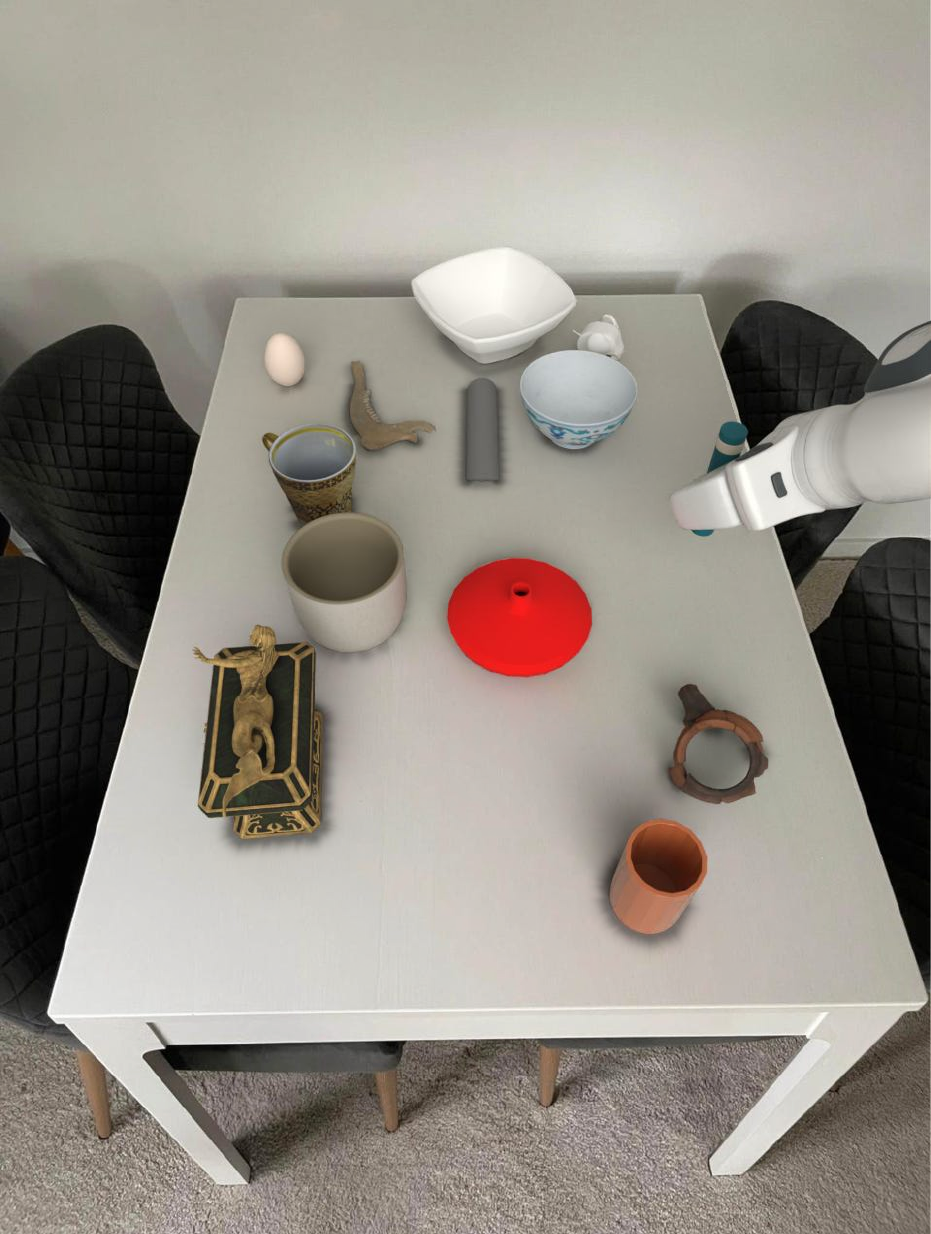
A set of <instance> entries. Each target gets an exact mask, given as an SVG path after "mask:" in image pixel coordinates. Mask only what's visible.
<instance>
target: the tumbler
mask: <svg viewBox="0 0 931 1234" xmlns="http://www.w3.org/2000/svg"><path fill="white" fill-rule="evenodd" d="M707 873H708V856H707V853H706V850H705V847H704V845H703V843H702V841H701V840H700V838H699V837H697V835H696V834H695V833H694V831H692V829H691V828H688V827H687V826H685V825H683V824H682V823H680V822H678V821H676V820H670V819H664V818H658V819H652V820H647V821H644V822H643V823H642V824H640V825H639V826H637V827H636V828H635V829H634V830H633V831H632V833H631V834H630V836H629V838H628V840H627V842H626V844H625V847H624V849H623V851H622V853H621V856H620V859H619V861H618V863H617V866H616V868H615V871H614V873H613V876H612V879H611V881H610V886H609V901H610V905H611V908H612V910H613V912H614V914H615V915H616V917H617V918H618V919H619V921H620V922H621V923H622V924H624V926H626V927H627V928H629V929H630V930H632V931H633V932H637V933H641V934H645V935H655V934H659V933H663V932H665V931H667V930H668V929H670V928H672V926H674V924H675V923H677V921H678V920H679V918H680V917H681V915H682V914H683V913H684V912H685V909H686V908H687V906H689V903H690V902H691V901H692V899H693V898H694V896H695V895H696V893H697V892H698V890H699V889H700V888H701V886H702V884H703V881H704V879H705V877H706V876H707Z"/></svg>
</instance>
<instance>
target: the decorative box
mask: <svg viewBox="0 0 931 1234" xmlns="http://www.w3.org/2000/svg"><path fill="white" fill-rule="evenodd" d="M276 636H277V635H276V632H275V630H273V629H272V628H271V627H270V626H264V625H261V624H258V623H257V624H254V627H253V629H252V632H251V634H250V635H249V636H248V638H249V643H250V644H251V645H243V646H232V647H231V646H230V647H222V648H221V649H220V650H219V651H218V652H217V653H215V654H214V656H213V658H208V657H206V655H204V653H203V652H202V651H201V649H200V648H198V647H196V646H194V647H193V649H192V651H193V655H194V656H195V657H193V659H195V660H200V662H201V663H204V664H207V665H208V664H209V665H212V673H211V683H210V690H209V691H210V692H209V700H208V708H207V718H206V722H204V729H203V733H205V736H204V744H203V752H202V753H203V754H202V762H201V772H200V779H199V780H200V781H199V790H198V796H197V797H198V798H197V808H198V809H199V811H200V812H201V813H202V814H204V815H205V816H206V817H207V818H208V819H217V818H218V819H219V818H223V819H225V818H229V817H231V818H232V817H233V826H232V827H233V828H232V830H233V832H234V833H235V834H236V835H237V836H238V837H239V838H240V839H242V840H249V839H260V838H270V837H271V838H272V837H282V836H294V835H304V834H305V835H306V834H307V835H308V834H312V833H314V832H315V830H317V828H318V827H319V826H320V825H321V822H322V821H321V820H322V770H323V769H322V767H323V766H322V765H323V763H322V762H323V714H322V713H321V712H320V711H319V710H318V709H316V703H315V702H316V671H317V670H316V669H317V668H316V667H317V665H316V664H317V661H316V660H317V653H316V648H315V647H314V646H313V645H312V644H310V643H309V642H307V641H298V642H296V641H295V642H285V643H277V637H276ZM196 656H197V657H196Z"/></svg>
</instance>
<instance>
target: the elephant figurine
mask: <svg viewBox="0 0 931 1234" xmlns="http://www.w3.org/2000/svg"><path fill="white" fill-rule="evenodd" d="M572 332H574V333H575V334H576V335H577V336H578V338H577V341H576V350H583V351H591V352H595V353H599V354H603V355H605V356H608V355H609V356H610V358H612V359H614V360H616V361H618V360H620V359H622V356H623V353H624V352H626V349H625V346H624V342H623V338H622V333H621V330H620V325H619V323H618V322H617V320H616V319H615V317H614V316H612V315H611V314H604V315H602V316H601V321H597V320H596V321H592V322H590V323H588V324H587V325H586V326H585V327H584V328H583V330H582V331H581V332H577V331H575V330H574V329H572Z"/></svg>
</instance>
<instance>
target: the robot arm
mask: <svg viewBox="0 0 931 1234" xmlns="http://www.w3.org/2000/svg"><path fill="white" fill-rule="evenodd" d="M863 393H864V395H863V397H861V398H860V399H859V400H857V401H856V402H853V403H852V404H835V405H830V406H827V407H822V408H818V409H814V410H810V411H806V412H802V413H797V414H794V415H791V416H788V417H786V418H785V419H783V420H782V421H781V422H780V423H778V425H776V427H775V428H774V429H773V431H772V432H770V433H768V434H767V436H765V437H764V438H762V440H761V441H760V442H759V443H757V444H756V445H755V446H753V447H752V448H750V449H749V450H747V451H746V452H744V453H743V454H740V457H738V458H736V459H734V460H732V461H731V462H729V463H727V464H725V465H723V466H721V467H719V468H717V469H715V470H713V471H711V472H709V473H707V472H706V473H707V474H706V473H704V474H702V475H700V476H698V477H696V478H694V479H693V480H692V481H690V482H688V483H686V484H684V485H682V486H681V487H680V486H679V487H678V488H676V489H674V490H673V491H671V492H670V493H669V495H668V501H669V506H670V509H671V512H672V515H673V517H674V519H675V521H676V523H677V525H678V526H679V527H680V528H681V529H682V530H687V531H691V530H714V531H715V530H726V529H733V528H737V527H741V526H744V527H745V530H746V531H748V532H759V531H760V532H761V531H763V530H767V529H769V528H773V527H775V526H778V525H781V524H783V523H786V522H788V521H789V522H790V521H792V520H795V519H797V518H798V517H802V516H806V515H811V514H819V513H823V512H825V511H828V510H838V509H848V508H855V507H857V506H860V505H862V504H864V503H866V502H872V503H876V504H881V505H891V504H903V503H910V502H919V501H924V500H931V320H929V321H926V322H923V323H921V324H919V325H916V326H914V327H912V328H910V329H907V330H906V331H904V332H903V333H900V335H899V336H898V337H896V338H895V339H893V340H892V341H891V342H890V343H889V344H888V345H887V346H886V347H885V349H883V351H882V352H881V354H880V356H879V357H878V358H877V361H876V363H875V364H874V366H873V368H872V370H871V372H870V374H869V376H868V377H867V380H866V382H865V385H864V388H863Z"/></svg>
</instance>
